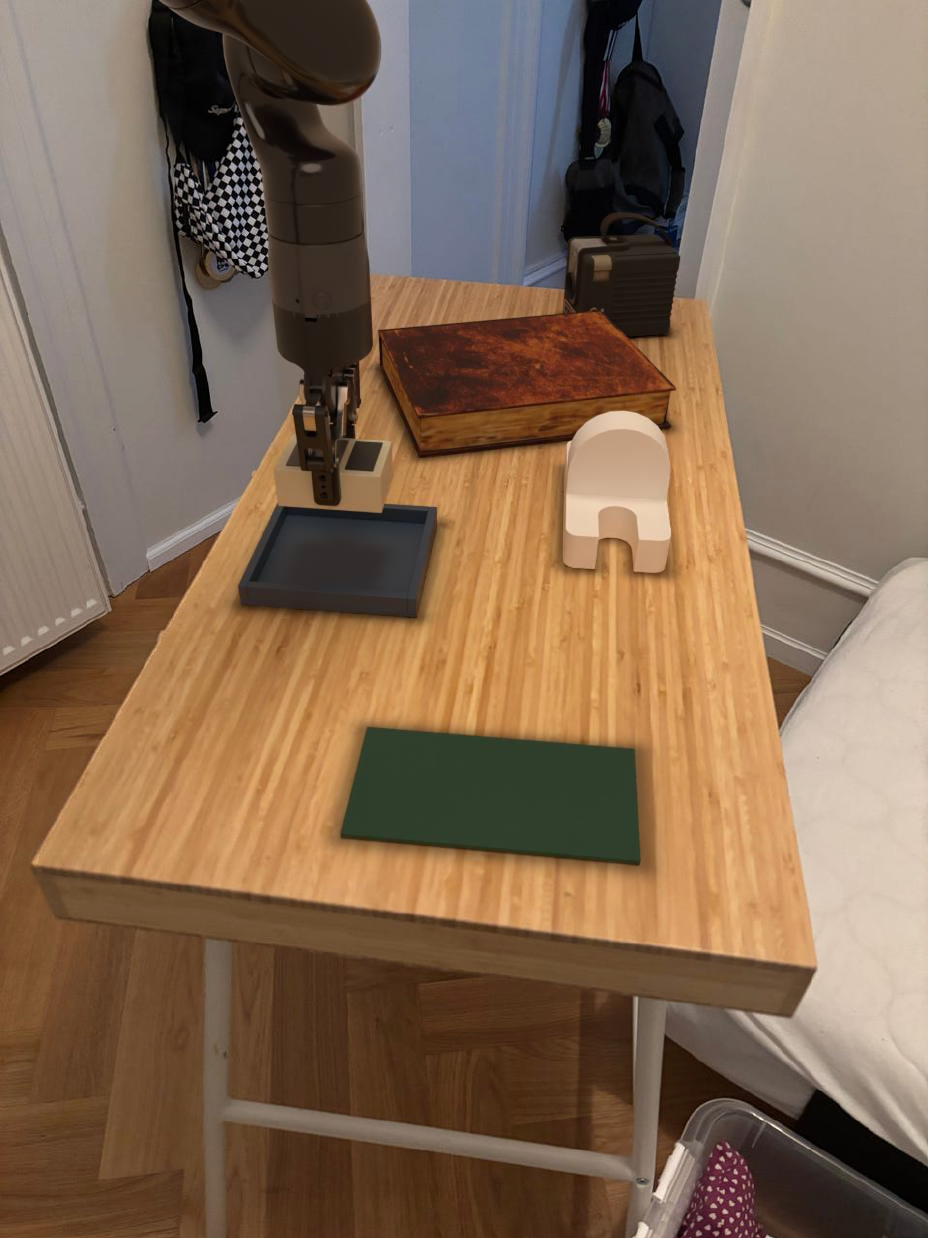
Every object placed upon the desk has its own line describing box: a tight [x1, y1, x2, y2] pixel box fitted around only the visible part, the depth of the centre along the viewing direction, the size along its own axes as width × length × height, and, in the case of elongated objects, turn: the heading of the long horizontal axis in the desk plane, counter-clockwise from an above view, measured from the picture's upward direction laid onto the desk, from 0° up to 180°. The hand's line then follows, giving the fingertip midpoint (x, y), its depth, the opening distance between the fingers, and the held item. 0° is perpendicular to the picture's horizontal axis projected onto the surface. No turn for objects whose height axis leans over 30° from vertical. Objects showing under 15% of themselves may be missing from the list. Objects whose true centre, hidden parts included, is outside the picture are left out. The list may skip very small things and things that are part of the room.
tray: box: [237, 502, 438, 618], centre depth 87 cm, size 16×15×2 cm
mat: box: [339, 726, 641, 865], centre depth 66 cm, size 20×10×1 cm, turn 84°
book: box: [377, 310, 677, 459], centre depth 113 cm, size 30×24×5 cm
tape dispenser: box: [562, 411, 672, 574], centre depth 90 cm, size 10×18×11 cm, turn 175°
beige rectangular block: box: [273, 434, 394, 513], centre depth 81 cm, size 9×6×4 cm
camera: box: [562, 211, 681, 338], centre depth 127 cm, size 11×14×15 cm
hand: (336, 482), depth 82 cm, fingers closed on beige rectangular block, 6 cm apart
